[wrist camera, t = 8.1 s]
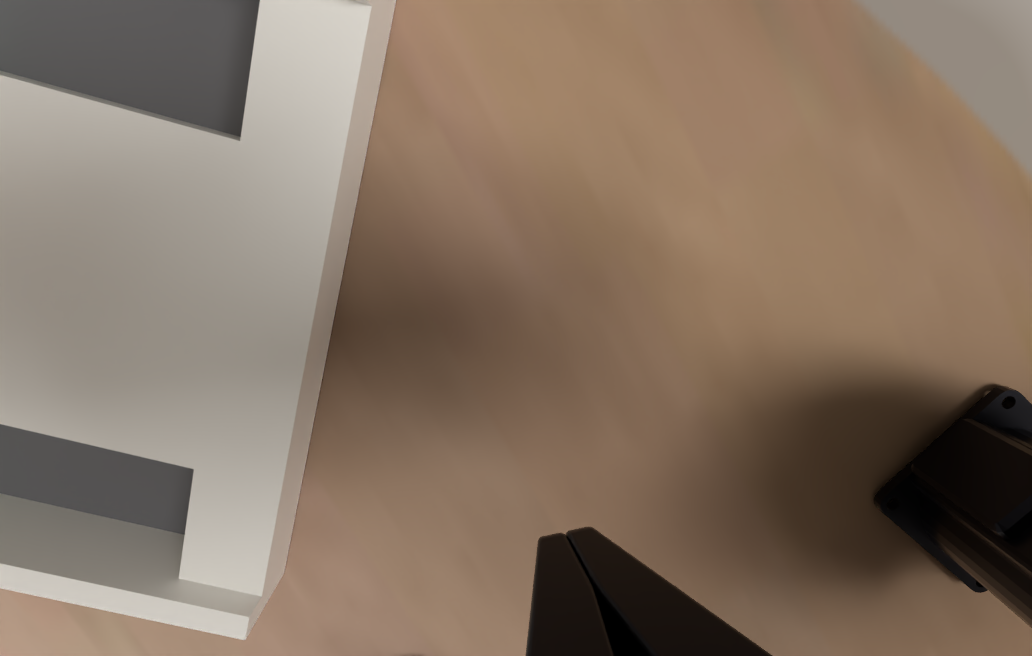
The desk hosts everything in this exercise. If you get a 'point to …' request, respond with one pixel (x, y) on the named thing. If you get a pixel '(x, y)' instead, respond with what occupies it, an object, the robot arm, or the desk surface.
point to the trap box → (171, 288)
